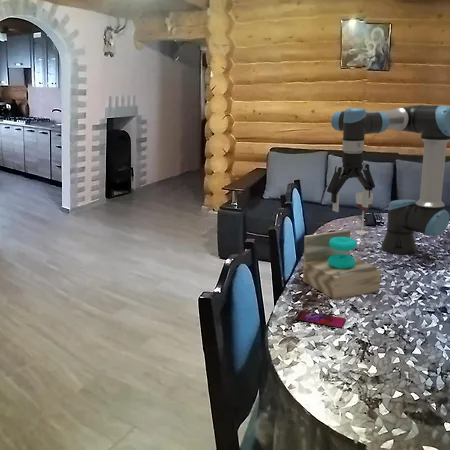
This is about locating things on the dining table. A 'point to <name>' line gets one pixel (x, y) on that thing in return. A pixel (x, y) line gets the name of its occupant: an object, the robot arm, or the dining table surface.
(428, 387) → the dining table surface
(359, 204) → the wineglass
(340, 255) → the donuts
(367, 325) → the dining table surface
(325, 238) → the display stand
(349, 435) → the dining table surface
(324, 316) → the smartphone
